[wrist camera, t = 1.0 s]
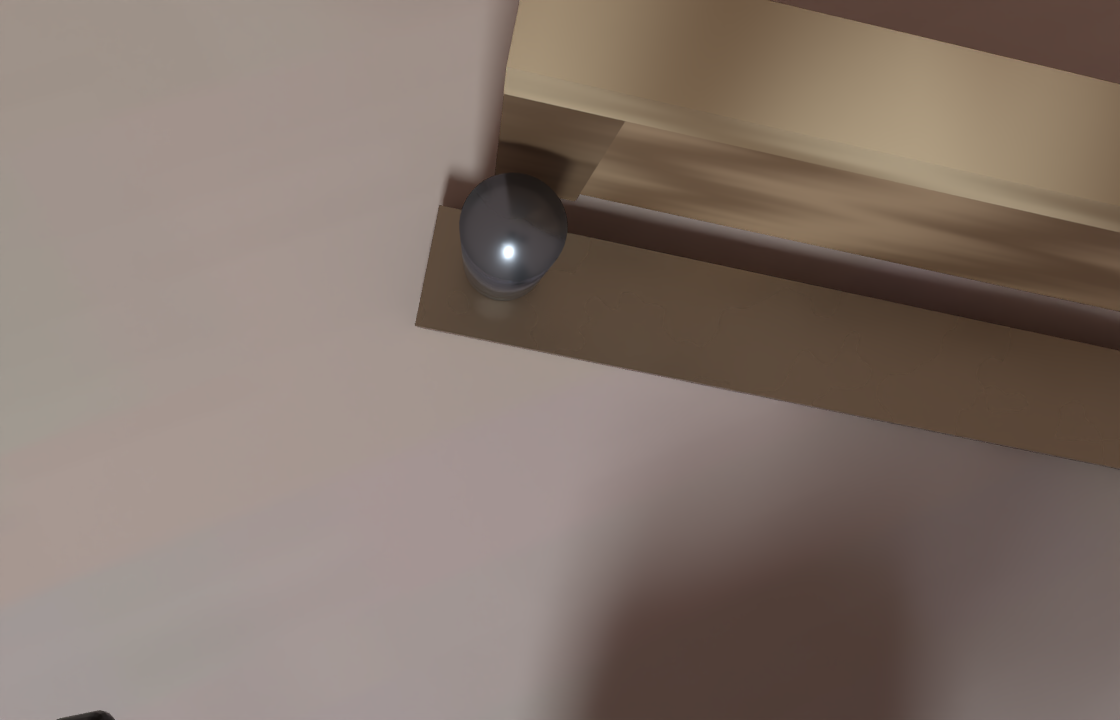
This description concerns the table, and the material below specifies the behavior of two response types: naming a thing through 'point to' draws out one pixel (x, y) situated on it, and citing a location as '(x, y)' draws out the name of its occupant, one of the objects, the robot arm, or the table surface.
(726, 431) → the table surface
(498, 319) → the gate frame
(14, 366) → the table surface
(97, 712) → the robot arm
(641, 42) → the gate leaf
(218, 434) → the table surface
